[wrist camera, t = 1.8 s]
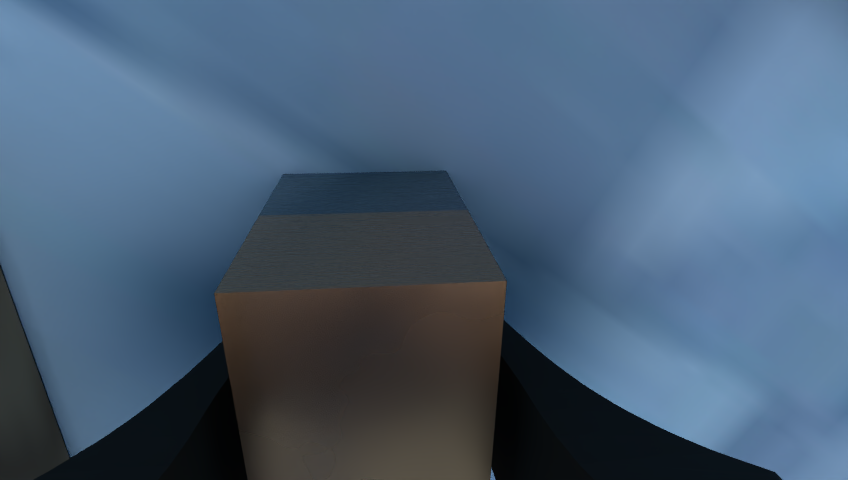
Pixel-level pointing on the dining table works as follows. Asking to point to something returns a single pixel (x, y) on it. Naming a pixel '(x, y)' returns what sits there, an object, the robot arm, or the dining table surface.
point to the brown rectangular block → (364, 331)
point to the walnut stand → (23, 405)
